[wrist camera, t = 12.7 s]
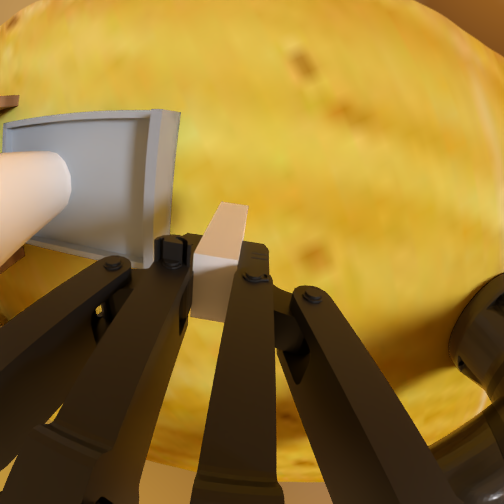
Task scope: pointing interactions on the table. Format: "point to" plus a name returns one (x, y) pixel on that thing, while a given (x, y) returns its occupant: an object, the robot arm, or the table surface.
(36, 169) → the foam cup
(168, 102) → the table surface
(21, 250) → the wood grain box
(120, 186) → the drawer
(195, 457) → the table surface
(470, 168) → the table surface
